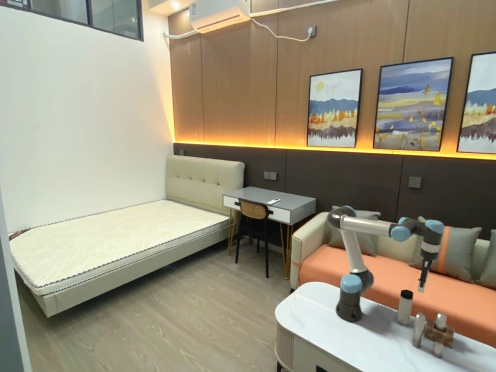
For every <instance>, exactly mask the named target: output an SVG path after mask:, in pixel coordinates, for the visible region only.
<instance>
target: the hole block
mask: <svg viewBox="0 0 496 372" xmlns="http://www.w3.org/2000/svg"><path fill="white" fill-rule="evenodd" d="M425 323H426V324H425V326H424V331H423V338H424V339H427V340H430V341H432V342H433V343H434V342H435V341H437V342H440V343H442V344H443V345H444V347H446V348H448V349H450V350H451V349H452V346H453V341H454V335H455V329H456V328H455V327H452V326H451V325H448V324H446V325H445V330H444V332H442V331H439V330H437V329H435V326H436V320H435V319H432V318H429V317H427V320H426V322H425Z"/></svg>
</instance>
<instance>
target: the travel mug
mask: <svg viewBox="0 0 496 372" xmlns="http://www.w3.org/2000/svg"><path fill="white" fill-rule="evenodd" d="M413 301H414V292H413V291H412V290H409V289H401V290H400V295H399V302H398V310H397V317H396V321H397V322H398V323H399V324H401V325H403V326H408V325H409V324H410V321H411V315H412V314H411V313H412V309H413V307H412V306H413Z"/></svg>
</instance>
